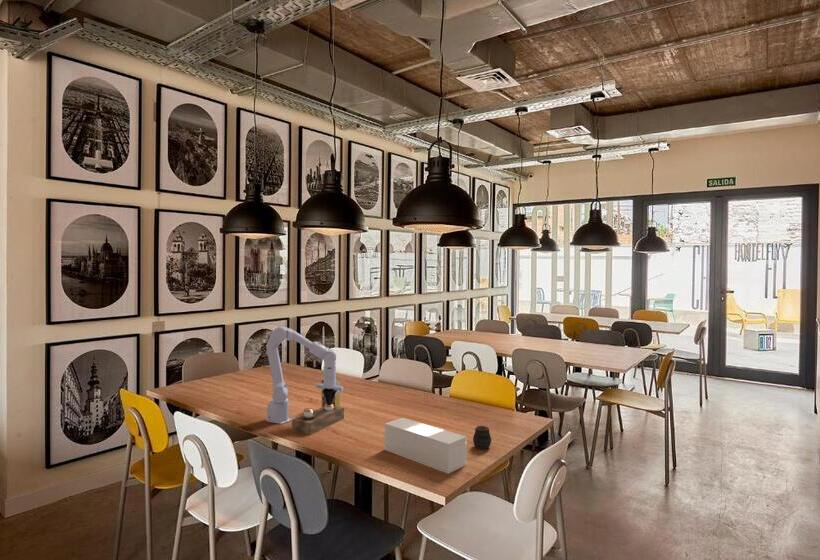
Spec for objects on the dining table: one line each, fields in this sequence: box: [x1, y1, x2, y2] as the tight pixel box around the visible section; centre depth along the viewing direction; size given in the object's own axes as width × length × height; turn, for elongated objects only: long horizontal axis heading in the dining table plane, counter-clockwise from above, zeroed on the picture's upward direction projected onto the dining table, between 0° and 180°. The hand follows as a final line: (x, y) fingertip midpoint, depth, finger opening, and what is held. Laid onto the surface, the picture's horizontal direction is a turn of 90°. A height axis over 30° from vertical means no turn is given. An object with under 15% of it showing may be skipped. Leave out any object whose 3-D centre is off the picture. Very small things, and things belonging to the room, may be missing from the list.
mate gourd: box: [472, 425, 492, 450], centre depth 193 cm, size 7×8×10 cm
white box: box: [383, 417, 468, 475], centre depth 182 cm, size 32×11×11 cm, turn 48°
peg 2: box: [325, 404, 334, 411], centre depth 226 cm, size 4×4×4 cm
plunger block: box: [291, 406, 345, 436], centre depth 219 cm, size 10×26×5 cm, turn 155°
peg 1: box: [303, 407, 314, 421], centre depth 212 cm, size 4×4×4 cm
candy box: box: [321, 378, 341, 407], centre depth 243 cm, size 9×4×15 cm, turn 60°
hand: (329, 404), depth 226 cm, fingers closed, pressing on peg 2
